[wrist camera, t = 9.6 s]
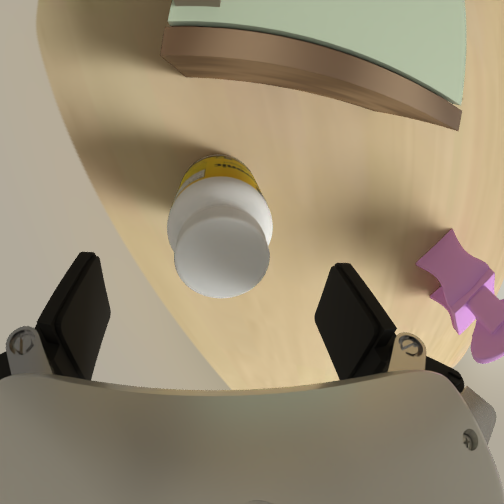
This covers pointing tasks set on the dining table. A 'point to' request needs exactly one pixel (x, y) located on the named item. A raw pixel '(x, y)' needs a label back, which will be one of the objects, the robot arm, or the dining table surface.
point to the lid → (356, 31)
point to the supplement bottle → (220, 228)
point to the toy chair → (467, 295)
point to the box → (301, 70)
